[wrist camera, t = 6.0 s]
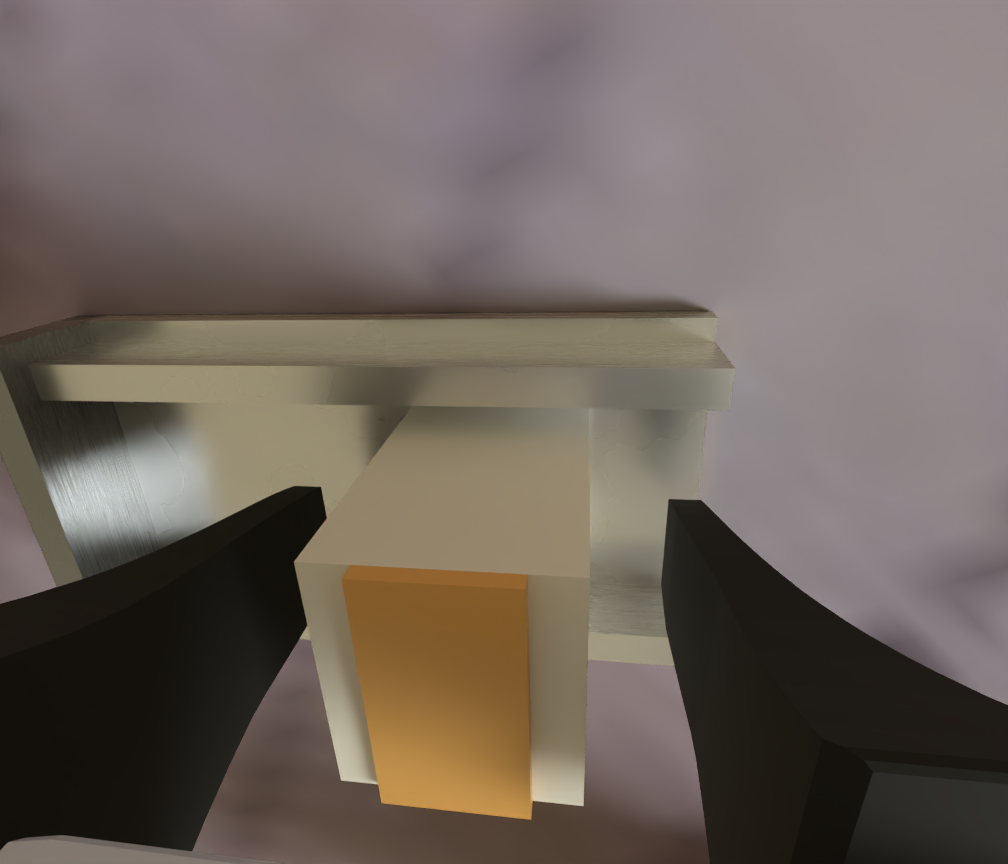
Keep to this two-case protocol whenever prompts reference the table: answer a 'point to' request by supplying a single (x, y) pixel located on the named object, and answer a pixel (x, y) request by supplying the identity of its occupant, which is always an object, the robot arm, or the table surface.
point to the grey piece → (348, 425)
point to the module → (459, 611)
